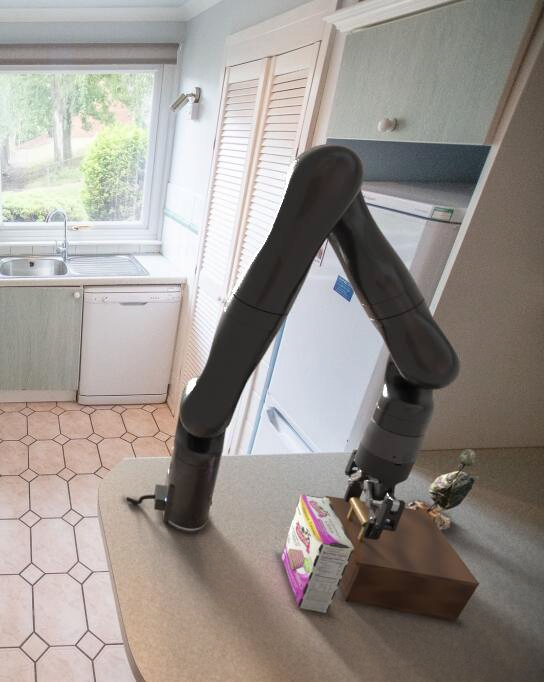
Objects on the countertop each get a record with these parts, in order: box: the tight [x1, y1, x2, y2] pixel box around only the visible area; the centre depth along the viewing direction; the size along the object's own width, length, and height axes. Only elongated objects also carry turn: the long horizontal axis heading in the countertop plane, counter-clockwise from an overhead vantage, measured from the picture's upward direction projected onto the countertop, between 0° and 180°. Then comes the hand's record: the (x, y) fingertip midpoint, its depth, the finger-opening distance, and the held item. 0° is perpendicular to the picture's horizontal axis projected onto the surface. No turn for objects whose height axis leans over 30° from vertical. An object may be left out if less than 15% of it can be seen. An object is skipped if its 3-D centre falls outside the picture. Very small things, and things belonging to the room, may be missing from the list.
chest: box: [338, 556, 478, 623], centre depth 84 cm, size 17×16×9 cm
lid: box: [323, 495, 480, 588], centre depth 81 cm, size 18×16×6 cm
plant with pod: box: [405, 448, 480, 531], centre depth 94 cm, size 8×11×20 cm
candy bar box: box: [280, 494, 354, 614], centre depth 80 cm, size 11×5×16 cm, turn 168°
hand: (359, 518), depth 82 cm, fingers open, 8 cm apart
